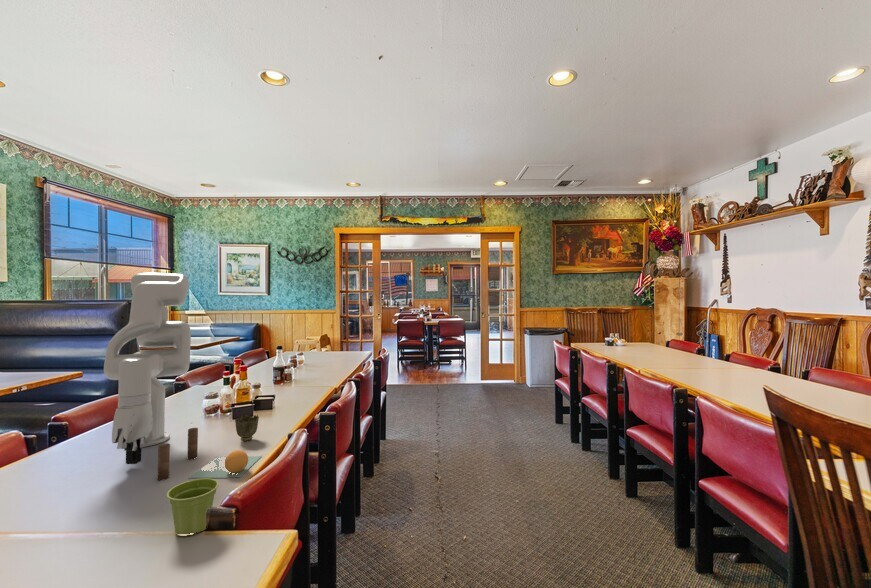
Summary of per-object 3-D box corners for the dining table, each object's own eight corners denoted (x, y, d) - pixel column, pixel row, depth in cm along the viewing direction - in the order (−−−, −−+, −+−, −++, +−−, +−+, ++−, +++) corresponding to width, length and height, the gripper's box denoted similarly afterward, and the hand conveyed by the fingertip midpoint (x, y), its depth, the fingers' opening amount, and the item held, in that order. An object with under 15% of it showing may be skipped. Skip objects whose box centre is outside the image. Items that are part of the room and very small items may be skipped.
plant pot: (182, 517, 85) (183, 478, 85) (225, 515, 85) (226, 477, 86) (155, 543, 75) (156, 500, 75) (204, 541, 76) (204, 498, 76)
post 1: (155, 480, 102) (155, 447, 102) (161, 475, 104) (162, 443, 104) (165, 480, 102) (165, 447, 102) (171, 475, 104) (172, 443, 104)
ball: (237, 478, 104) (217, 472, 104) (248, 471, 109) (229, 465, 110) (244, 457, 104) (224, 451, 105) (254, 450, 110) (236, 445, 110)
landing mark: (188, 478, 103) (188, 477, 103) (216, 457, 117) (216, 456, 117) (239, 477, 103) (239, 477, 103) (261, 456, 117) (261, 456, 117)
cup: (262, 437, 134) (263, 414, 134) (250, 445, 127) (250, 421, 127) (243, 436, 135) (243, 414, 135) (230, 444, 128) (230, 420, 128)
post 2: (185, 459, 115) (186, 430, 115) (190, 456, 117) (191, 427, 117) (194, 459, 115) (194, 430, 115) (199, 456, 117) (199, 427, 118)
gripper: (140, 393, 117) (139, 452, 116) (99, 407, 102) (98, 475, 101) (165, 393, 117) (164, 452, 117) (127, 407, 102) (126, 474, 102)
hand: (133, 462), depth 109 cm, fingers closed
